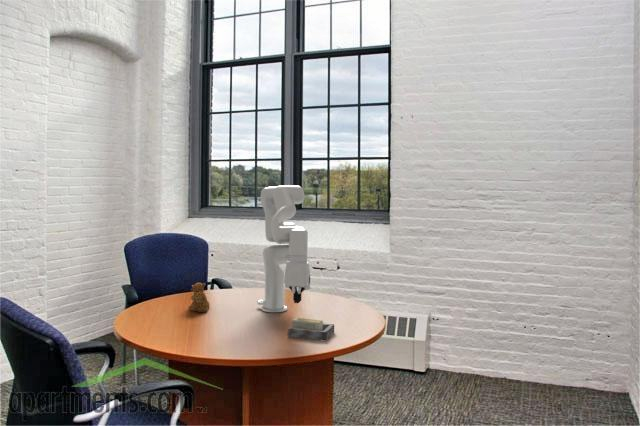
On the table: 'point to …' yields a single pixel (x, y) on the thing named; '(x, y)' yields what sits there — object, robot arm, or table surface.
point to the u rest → (312, 332)
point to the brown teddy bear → (199, 299)
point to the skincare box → (307, 324)
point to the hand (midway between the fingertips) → (297, 302)
